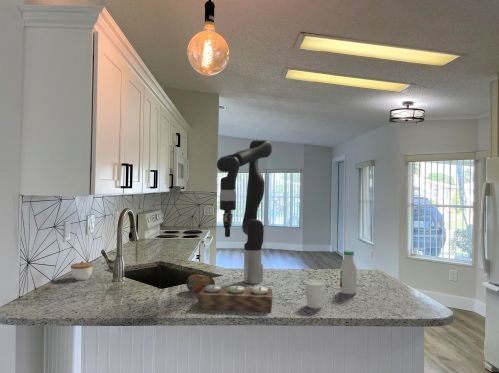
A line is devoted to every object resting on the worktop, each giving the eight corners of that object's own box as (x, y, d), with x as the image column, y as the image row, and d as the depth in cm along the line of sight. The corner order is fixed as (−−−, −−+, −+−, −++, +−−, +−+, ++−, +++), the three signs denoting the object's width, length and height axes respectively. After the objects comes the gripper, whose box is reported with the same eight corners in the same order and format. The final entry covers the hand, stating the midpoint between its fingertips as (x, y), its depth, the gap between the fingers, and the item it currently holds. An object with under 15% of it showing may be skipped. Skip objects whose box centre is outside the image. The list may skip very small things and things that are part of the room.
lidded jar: (87, 281, 190) (87, 263, 190) (66, 281, 191) (66, 263, 191) (96, 276, 201) (96, 259, 201) (76, 276, 201) (76, 259, 201)
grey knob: (222, 297, 159) (222, 284, 159) (219, 301, 153) (219, 289, 153) (207, 296, 160) (207, 284, 160) (203, 301, 153) (204, 288, 153)
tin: (185, 291, 175) (186, 273, 175) (189, 289, 178) (190, 272, 178) (212, 296, 168) (212, 277, 168) (215, 294, 171) (216, 276, 171)
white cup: (320, 310, 150) (320, 286, 150) (302, 307, 154) (302, 283, 154) (327, 305, 157) (327, 282, 157) (309, 302, 161) (310, 279, 161)
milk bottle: (359, 292, 176) (359, 251, 176) (351, 296, 170) (352, 253, 170) (344, 289, 181) (345, 249, 181) (336, 292, 176) (337, 251, 176)
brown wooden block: (272, 302, 160) (272, 288, 160) (271, 311, 148) (271, 297, 148) (204, 299, 163) (204, 286, 163) (198, 308, 151) (198, 294, 151)
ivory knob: (268, 298, 157) (268, 286, 157) (267, 303, 151) (267, 290, 151) (252, 298, 158) (252, 285, 158) (251, 303, 151) (251, 290, 151)
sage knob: (244, 298, 158) (245, 285, 158) (243, 302, 152) (243, 290, 152) (229, 297, 159) (229, 285, 159) (227, 302, 152) (227, 289, 152)
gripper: (222, 198, 177) (221, 234, 177) (217, 200, 164) (216, 238, 164) (237, 199, 177) (237, 235, 177) (233, 200, 163) (233, 239, 164)
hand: (227, 236), depth 171 cm, fingers closed
